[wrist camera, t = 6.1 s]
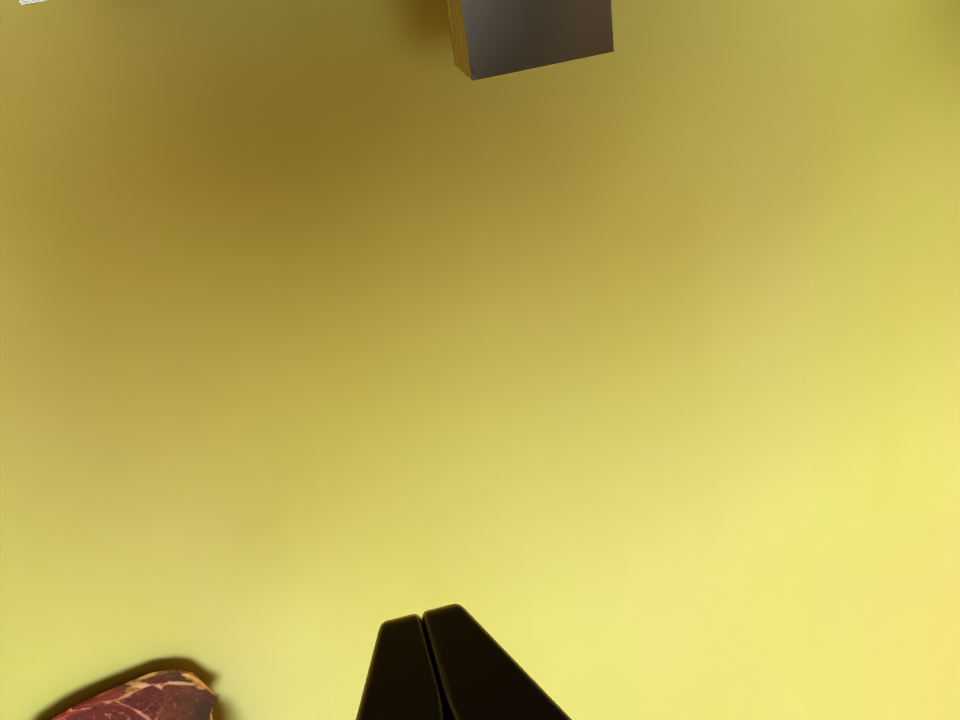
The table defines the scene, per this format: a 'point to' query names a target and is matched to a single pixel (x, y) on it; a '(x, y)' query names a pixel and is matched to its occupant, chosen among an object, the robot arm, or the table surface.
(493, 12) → the grey box
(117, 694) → the cured meat
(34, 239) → the table surface
